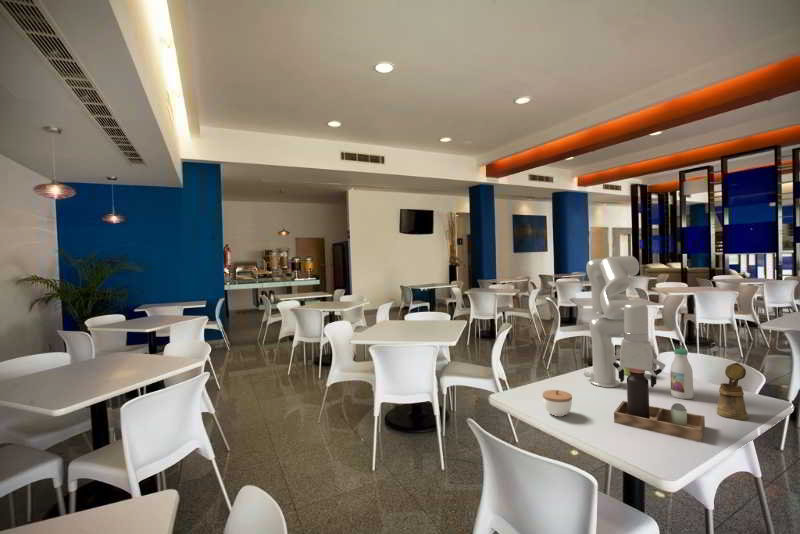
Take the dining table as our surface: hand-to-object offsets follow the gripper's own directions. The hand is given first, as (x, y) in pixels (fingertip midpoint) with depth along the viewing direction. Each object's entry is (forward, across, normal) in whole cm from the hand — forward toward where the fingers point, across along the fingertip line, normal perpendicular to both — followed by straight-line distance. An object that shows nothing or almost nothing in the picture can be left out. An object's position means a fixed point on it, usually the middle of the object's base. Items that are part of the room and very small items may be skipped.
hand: (637, 383), depth 141 cm
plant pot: (+16, -14, +59) cm, 63 cm away
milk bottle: (+15, +10, +38) cm, 42 cm away
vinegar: (+14, 0, -1) cm, 14 cm away
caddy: (+14, +6, -1) cm, 16 cm away
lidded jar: (+14, -26, -10) cm, 31 cm away
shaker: (+13, +12, -1) cm, 18 cm away
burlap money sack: (+15, +26, +28) cm, 41 cm away
